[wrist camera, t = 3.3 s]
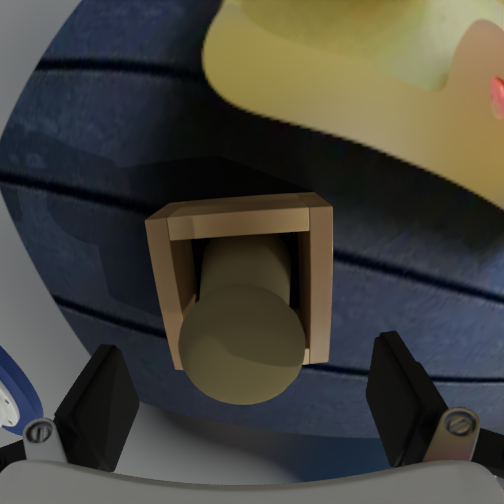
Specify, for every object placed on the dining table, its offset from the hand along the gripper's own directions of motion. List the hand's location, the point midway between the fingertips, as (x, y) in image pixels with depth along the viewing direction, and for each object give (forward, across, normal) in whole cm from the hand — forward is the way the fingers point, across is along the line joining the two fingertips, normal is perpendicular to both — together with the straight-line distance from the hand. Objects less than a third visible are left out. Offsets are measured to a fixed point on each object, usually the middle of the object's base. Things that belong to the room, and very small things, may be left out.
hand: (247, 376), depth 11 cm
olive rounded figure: (+12, 0, 0) cm, 12 cm away
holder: (+11, 0, 0) cm, 11 cm away
